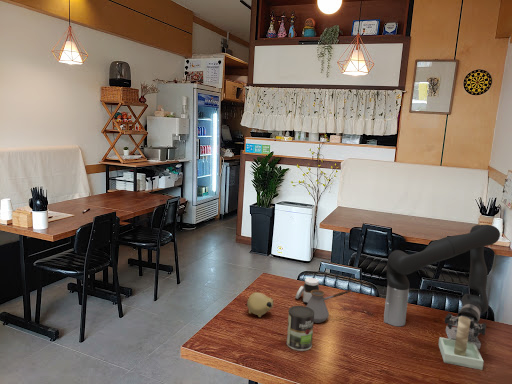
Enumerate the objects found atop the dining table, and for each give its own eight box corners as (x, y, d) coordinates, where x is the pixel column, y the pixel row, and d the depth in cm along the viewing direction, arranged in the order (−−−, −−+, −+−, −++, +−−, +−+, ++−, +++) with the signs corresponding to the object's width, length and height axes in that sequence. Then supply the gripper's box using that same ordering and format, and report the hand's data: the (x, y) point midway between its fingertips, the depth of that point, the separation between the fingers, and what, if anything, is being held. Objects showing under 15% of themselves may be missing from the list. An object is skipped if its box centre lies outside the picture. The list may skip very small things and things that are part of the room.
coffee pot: (304, 324, 169) (306, 292, 167) (302, 312, 181) (304, 282, 178) (352, 327, 168) (355, 295, 166) (347, 315, 180) (350, 285, 177)
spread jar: (319, 307, 187) (321, 284, 185) (296, 306, 187) (297, 283, 185) (315, 296, 199) (317, 275, 197) (294, 295, 199) (295, 274, 197)
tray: (444, 362, 145) (445, 354, 144) (438, 344, 157) (439, 337, 156) (482, 369, 141) (483, 361, 140) (473, 351, 153) (474, 343, 153)
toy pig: (270, 321, 170) (271, 299, 169) (244, 317, 173) (245, 295, 171) (274, 311, 180) (275, 290, 178) (249, 308, 182) (250, 287, 181)
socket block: (450, 343, 158) (451, 338, 158) (445, 331, 169) (446, 325, 168) (479, 349, 155) (480, 343, 155) (473, 335, 166) (474, 330, 165)
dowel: (454, 356, 147) (460, 320, 145) (452, 350, 151) (457, 315, 149) (466, 358, 146) (471, 322, 144) (464, 352, 150) (469, 317, 148)
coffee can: (317, 347, 151) (319, 314, 149) (295, 353, 146) (297, 319, 144) (302, 335, 160) (304, 303, 158) (281, 340, 155) (283, 307, 153)
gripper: (451, 302, 163) (443, 315, 150) (490, 312, 154) (484, 327, 141) (449, 318, 164) (441, 333, 151) (487, 330, 155) (482, 346, 143)
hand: (462, 330), depth 146 cm, fingers open, 8 cm apart
